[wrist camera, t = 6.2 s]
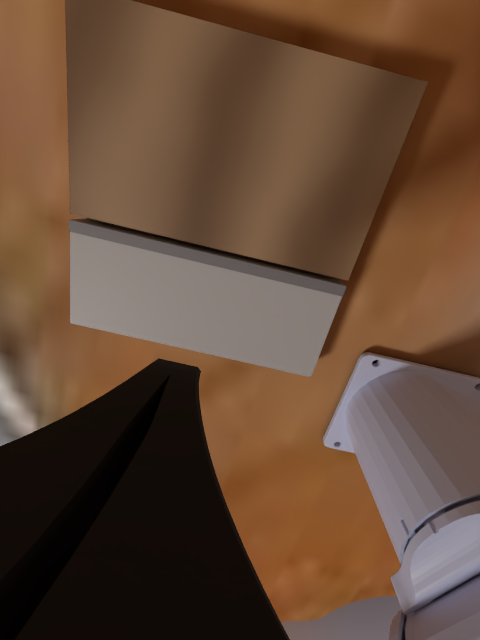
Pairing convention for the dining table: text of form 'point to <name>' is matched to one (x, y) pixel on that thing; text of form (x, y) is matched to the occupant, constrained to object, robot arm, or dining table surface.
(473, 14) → the dining table surface
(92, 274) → the grey board
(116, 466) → the robot arm
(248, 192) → the walnut plank
